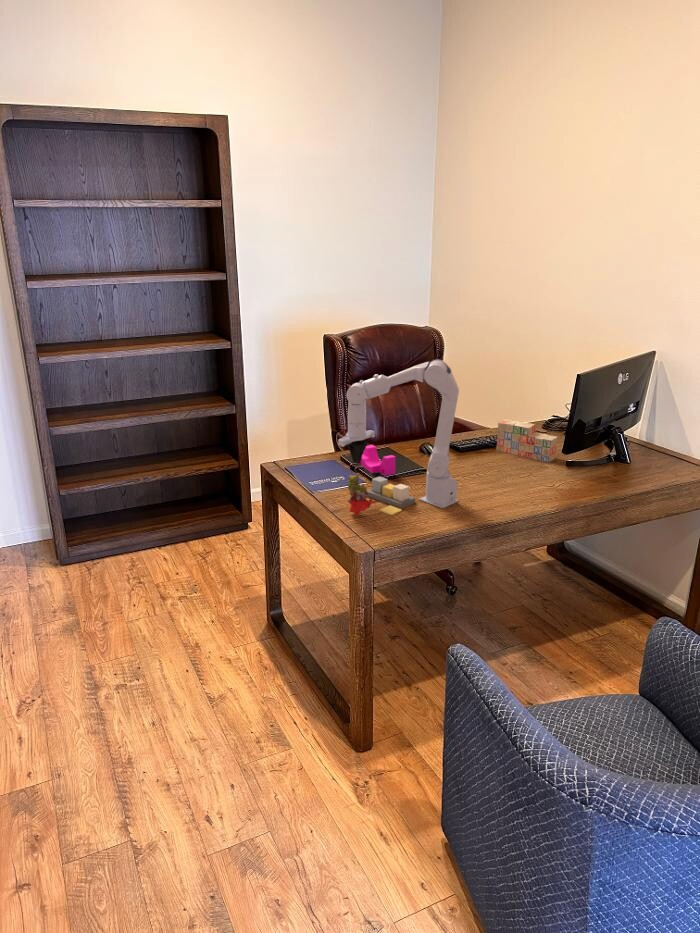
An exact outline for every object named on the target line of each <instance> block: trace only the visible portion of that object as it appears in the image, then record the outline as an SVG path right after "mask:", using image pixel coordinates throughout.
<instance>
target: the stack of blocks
mask: <svg viewBox="0 0 700 933" xmlns="http://www.w3.org/2000/svg"><path fill="white" fill-rule="evenodd" d="M496 438H497V439H496V449H495V451H497V452H502V453H506V454H511V455H514V456H519V457H523V458H528V459H532V460H535V461H540V462H545V463H550V462H552V461H553V460H555V459H556V453H557V448H558V447H557V444H558V438H559V437H558V436H556V435H552V434H551V435H550V434H545V433H541V432H537V431H536V424H534V423H530V422H525V421H517V420H514V419H506V418H505V419H502V420H501V421H499V422H497V435H496Z"/></svg>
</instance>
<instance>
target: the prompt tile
mask: <svg viewBox="0 0 700 933" xmlns="http://www.w3.org/2000/svg"><path fill="white" fill-rule="evenodd" d="M378 512H380V513H384V514H386V515H388V516H394V515H396V514H399V513H401V512H403V509H402V508H401V509H400V508H397V507H395V506H392V505H389V504H388V505H387V506H385V507H382V508H380V509H379V510H378Z"/></svg>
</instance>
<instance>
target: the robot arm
mask: <svg viewBox="0 0 700 933" xmlns="http://www.w3.org/2000/svg"><path fill="white" fill-rule="evenodd" d="M411 381H418V382H420V383H424V382H425V383H427V385H429V386H431V387H432V388H433V389H436V390H437V391H438V392H439V394H440V395H441V396H442V400H441V406H440V410H439V416H438V423H437V427H436V433H435V434H436V435H435V440H434V445H433V450H432V452H431V454H430V456H429V461H428V463H427V464H426V465H427V466H426V469H427V471H426V481H425V496H422V497H420V498H419V501H421V502H425V503H427V504H430V505H433V506H435V507H437V508H438V507H439V508H441V509H445V508H446V507H449V506H451V505H453V504H456V503H458V502H459V500H458V498H457V497H458V480H456V478H454V477H453V476H451V472H450V470H449V464H450V462H451V457H450V454H449V453H450V452H449V451H450V443H451V438H452V433H453V427H454V420H455V417H456V416H455V415H456V411H457V403H458V399H459V393H460V389H459V388H460V387H459V386H458V383H457V381H456V379H455V376H454V374H453V371H452V368H451V367H450V366H449V365H448V364H447V363H446V362H445V361H444V360H442V359H434V360H431V361H426V362H423V363H419V364H416V365H413V366H412V367H409V368H405V369H404V370H402V371H399V372H397V373H393V374H392V375H389V376H386V375H384V374H380V375H379V374H378V373H377V374H374V375H373V376H372V377H371V378H368V379H366V380H363V379H360V380H359V382H355V383H352V385H351V386H349V388H348V389H347V391H346V399H347V401H348V402H347V405H348V406H347V432H346V433H345V435H344V436H343V437H341V438H339V439H338V440H337V442H338V443H337V445H338V446H340V447H345V446H346V447H347V448H348V450H349V453H350V455H351V460H352V463H353V464H356V465H357V464H359V463H360V462H361V458H362V455H363V452H364V450H365V448H366V446H369V444H368V443H369V442H368V441H367V440H366V439H369V438H375V436H376V435H375V434H376V432H375V431H374V430H371V429H370V430H367V400H370V399H373V398H376V397H378V396H382V395H385V394H388V393H389V391H390V389H391V388H392V387H395V386H398V385H401V384H402V385H403V384H404V383H409V382H411Z"/></svg>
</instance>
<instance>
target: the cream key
mask: <svg viewBox="0 0 700 933" xmlns="http://www.w3.org/2000/svg"><path fill="white" fill-rule="evenodd" d="M409 496H410V486H409V485H406V484H404V483H403V484H402V483H399V484H395V486H393V499H396V500H398V501H401V502H402V501H404V500H406V499H409Z"/></svg>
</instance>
